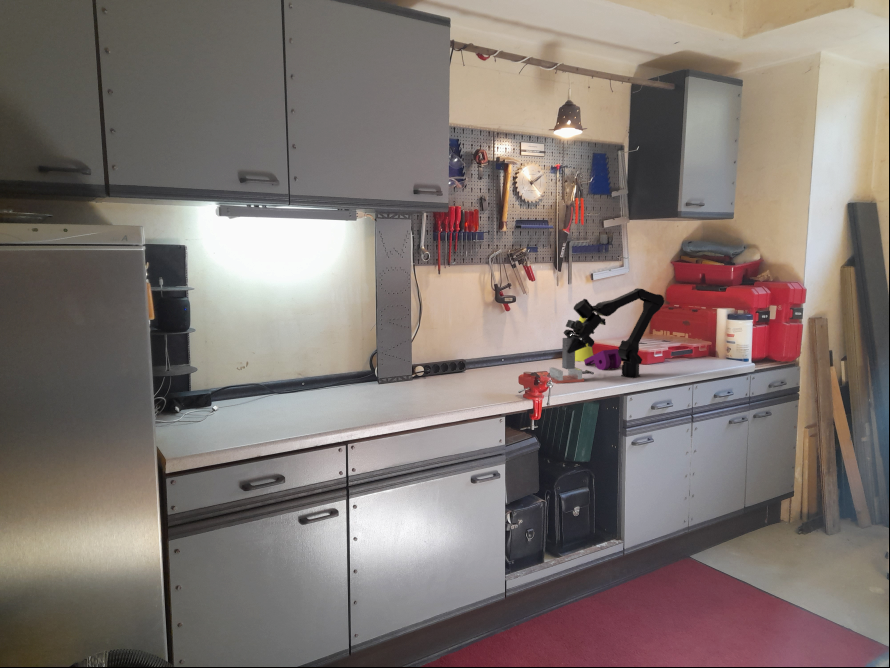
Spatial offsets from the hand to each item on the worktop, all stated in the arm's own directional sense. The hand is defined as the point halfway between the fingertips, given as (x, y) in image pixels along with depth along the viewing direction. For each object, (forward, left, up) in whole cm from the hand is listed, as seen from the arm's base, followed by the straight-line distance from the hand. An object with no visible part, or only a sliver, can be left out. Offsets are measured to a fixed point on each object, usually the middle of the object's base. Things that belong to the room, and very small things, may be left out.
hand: (565, 352), depth 252 cm
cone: (+22, -52, -13) cm, 58 cm away
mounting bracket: (+4, -39, -13) cm, 41 cm away
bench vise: (-2, -2, -12) cm, 13 cm away
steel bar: (-1, -1, -7) cm, 7 cm away
